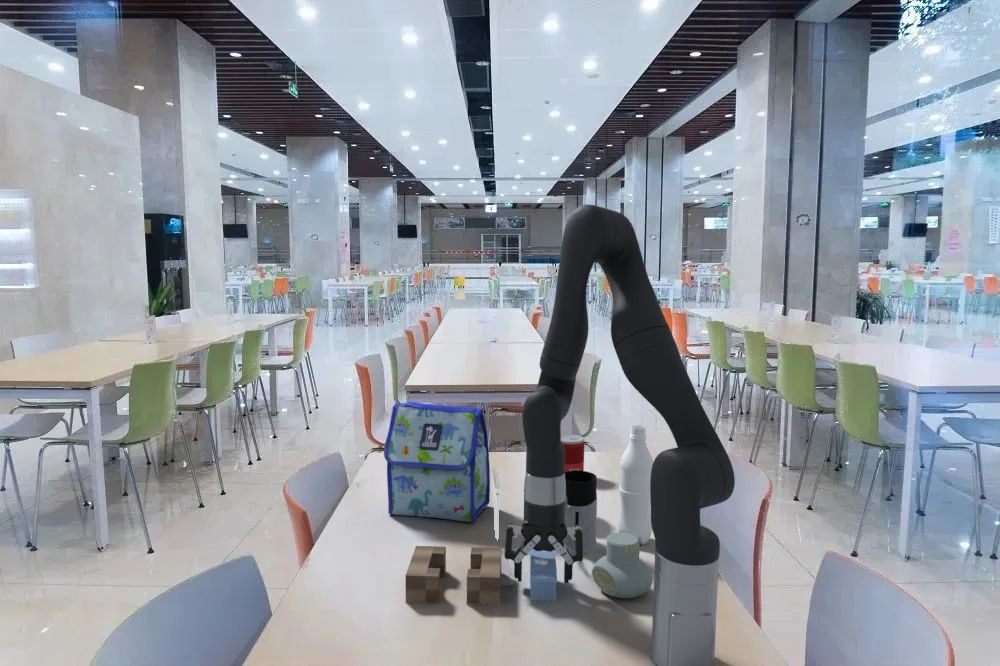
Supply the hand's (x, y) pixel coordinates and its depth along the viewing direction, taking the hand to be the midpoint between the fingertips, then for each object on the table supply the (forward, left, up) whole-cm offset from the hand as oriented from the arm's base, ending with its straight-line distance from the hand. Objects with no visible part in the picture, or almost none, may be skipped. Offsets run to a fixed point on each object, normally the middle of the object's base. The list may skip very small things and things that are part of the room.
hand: (543, 580), depth 124 cm
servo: (0, 0, -2) cm, 2 cm away
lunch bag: (+36, +24, -2) cm, 43 cm away
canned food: (+63, -9, -2) cm, 63 cm away
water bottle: (+22, -20, -2) cm, 30 cm away
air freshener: (0, -14, -2) cm, 14 cm away
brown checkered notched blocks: (0, +16, -1) cm, 16 cm away
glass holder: (+17, -6, -2) cm, 18 cm away
